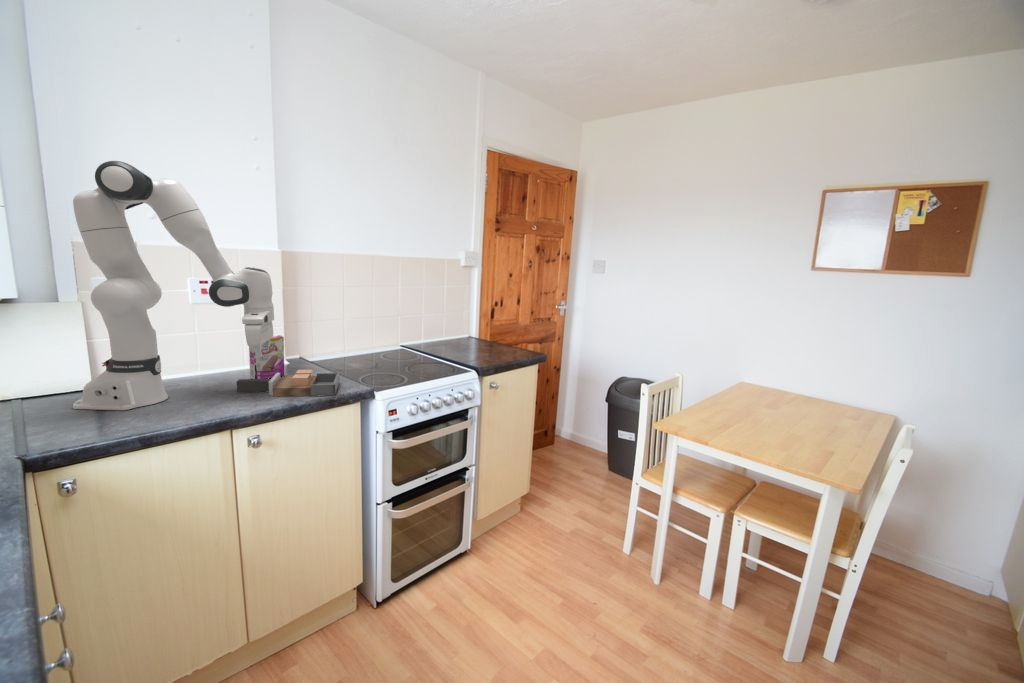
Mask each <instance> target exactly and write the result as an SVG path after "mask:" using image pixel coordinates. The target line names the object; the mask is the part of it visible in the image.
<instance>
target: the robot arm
mask: <svg viewBox="0 0 1024 683" xmlns="http://www.w3.org/2000/svg"><path fill="white" fill-rule="evenodd" d="M94 179H95V180H94V181H95V183H96V185H97V188H96V189H95V188H94V189H93V190H91V189H90V190H85V191H82V192H81V191H80V192H79V193H78V194H76V195H74V197H73V199H72V204H73V205H72V206H73V212H74V217H75V221H76V224H77V228H78V231H79V233H80V237H81V239H82V241H83V243H84V244H83V245H84V246H85V249H86V251H87V254H88V256H89V258H90V261H91V262H92V263H94V265H96V266H97V267H98V269H99V270H100V271H101V273H102V274H103V276H105V278H106V280H105V281H101V283H99V284H98V285H96V286H95V287H94V288H93V290H92V291H91V294H90V301H91V304H92V305H93V307H94V308H95V309H96V310H97V311H98V312H99V313H100V315H101V318H102V320H103V322H104V324H105V327H106V330H107V333H108V337H109V344H110V346H109V347H110V354H111V357H110V358H109V359H107V360H105V361H104V362H101V364H102V365H101V367H105V370H104V371H103V372H102V373H100V374H99V375H97V376H95V377H94V378H93V379H91V380H90V381H89V382H88V383H86V384H85V385H84V386H83V389H82V396H81V398H79V399H77V400H76V401H74V402H73V404H72V409H73V410H96V411H97V410H103V411H104V410H105V411H126V410H127V411H128V410H132V409H135V408H139V407H145V406H149V405H150V406H151V405H153V404H159V403H161V402H164V401H166V400H167V399H168V398H169V395H168V393H167V391H166V388H165V386H164V382H163V379H162V378H163V377H162V374H161V373H162V362H161V355H159V352H158V350H159V349H158V342H157V341H158V340H157V332H156V329H154V327H153V325H152V323H151V321H150V317H149V314H148V310H149V309H153V307H155V306H156V305H157V304H158V303H159V301H160V300H161V298H162V294H163V293H162V288H161V286H160V285H159V283H157V282H156V280H155V279H154V278H153V276H152V274H151V273H150V271H149V269H148V268H147V266H146V264H145V263H144V261H143V259H142V258H141V256H140V254H139V251H138V248H137V246H136V242H135V241H134V237H133V236H132V235H133V234H132V231H131V230H130V226H129V224H128V221H127V219H126V213H125V210H129V209H132V208H134V207H137V206H140V205H142V204H147V205H148V206H149V207H150V208H152V210H153V211H154V212H155V215H156V216H157V217H158V218H159V220H160V222H161V224H162V225H163V226H164V228H165V229H166V231H167V232H168V234H170V236H171V237H172V238H173V239H174V240H175V241H176V242H177V243H178V244H180V245H182V246H184V247H185V248H187V249H188V250H190V251H191V252H192V253H194V254H195V255H196V256H197V258H198V259H199V260H200V262H201V263H202V265H203V266H204V268H205V270H206V272H208V274H209V275H210V277H211V280H212V281H213V282H212V283H210V286H209V288H208V295H209V298H210V300H211V301H212V302H213V303H214V304H215V305H217V306H221V307H224V308H231V307H235V306H238V305H239V306H240V305H243V311H244V312H243V316H242V318H241V321H242V322H241V323H242V324H243V325H244V333H245V340H246V344H247V346H248V348H249V347H253V349H254V352H255V357H256V358H261V357H262V352H261V345H262V344H263V347H262V349H263V352H268V351H269V342H270V338H271V337H272V336H273V335H274V327H273V326H274V325H273V321H275V309H274V304H273V300H272V298H273V284H272V280H271V279H272V278H271V276H270V274H269V273H268V272H267V271H266V270H265V269H261V268H255V267H249V266H248V267H243V268H242V269H241V270H239V271H237V272H235V273H234V272H233V270H232V269H231V268H230V267H229V265H228V263H227V262H226V260H225V259H224V257H223V255H222V254H221V252H220V251H219V249H218V248H217V245H216V243H215V240H214V238H213V235H212V233H211V230H210V228H209V225H208V223H207V220H206V218H205V216H204V214H203V212H202V210H201V209H200V207H199V206H198V204H197V203H196V201H195V199H194V198H193V197H192V196H191V194H190V193H189V192H188V191H187V189H186V188H185V187H184V186H183V185H182V184H181V183H180V182H179V181H178V180H176V179H172V178H160V179H156V180H153V179H152V178H151V177H150V176H148V175H147V174H145V173H144V172H142V171H140V170H139V169H138V168H136V167H134V165H132V164H129V163H128V162H124V161H118V160H109V161H104V162H102V163H101V164H99V166H97V167H96V170H95V171H94Z"/></svg>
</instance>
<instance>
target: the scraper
mask: <svg viewBox="0 0 1024 683" xmlns="http://www.w3.org/2000/svg"><path fill="white" fill-rule="evenodd" d="M280 379H281V377H280V373H276V374H275V375H274V376H273V377H272V378H271V379H250V378H243V379H242V378H239V379H238V380H237V381H236V393H237V392H239V393H258V392H257V391H269V392H268V396H269V395H273V387H274V386H275V385H276V384H277V382H278V381H279V380H280Z"/></svg>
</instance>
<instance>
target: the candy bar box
mask: <svg viewBox="0 0 1024 683" xmlns="http://www.w3.org/2000/svg"><path fill="white" fill-rule="evenodd" d="M284 338H285V337H284V336H283V335H279V334H273V336H272V337H271V338H270V342H269V351H268V352H263V349H262V347H263V344H262V345H261V352H262V357H261V358H256V357H255V352H254V349H253V347H249V346H248V353H249V354H248V355H249V379H250V378H251V379H268V378H271V379H272V377H273V376H274V375H275V374H276V373H280V378H281V376H283V377H285V352H284V351H285V349H284V348H285V343H284V340H285V339H284Z"/></svg>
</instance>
